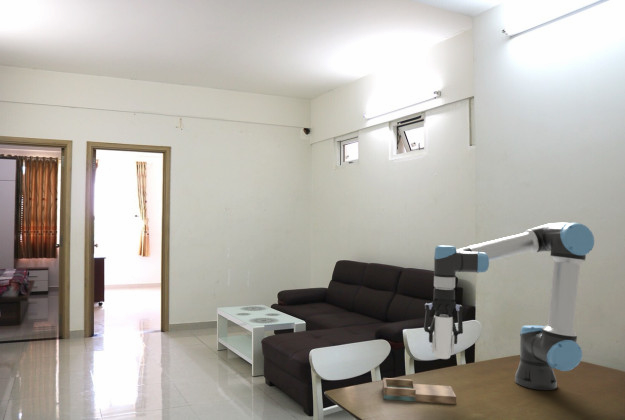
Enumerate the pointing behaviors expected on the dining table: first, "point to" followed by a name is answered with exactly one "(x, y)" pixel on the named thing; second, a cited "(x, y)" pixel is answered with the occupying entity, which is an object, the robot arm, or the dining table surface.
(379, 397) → the dining table surface
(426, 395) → the rail board
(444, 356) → the white cylinder
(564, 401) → the dining table surface
